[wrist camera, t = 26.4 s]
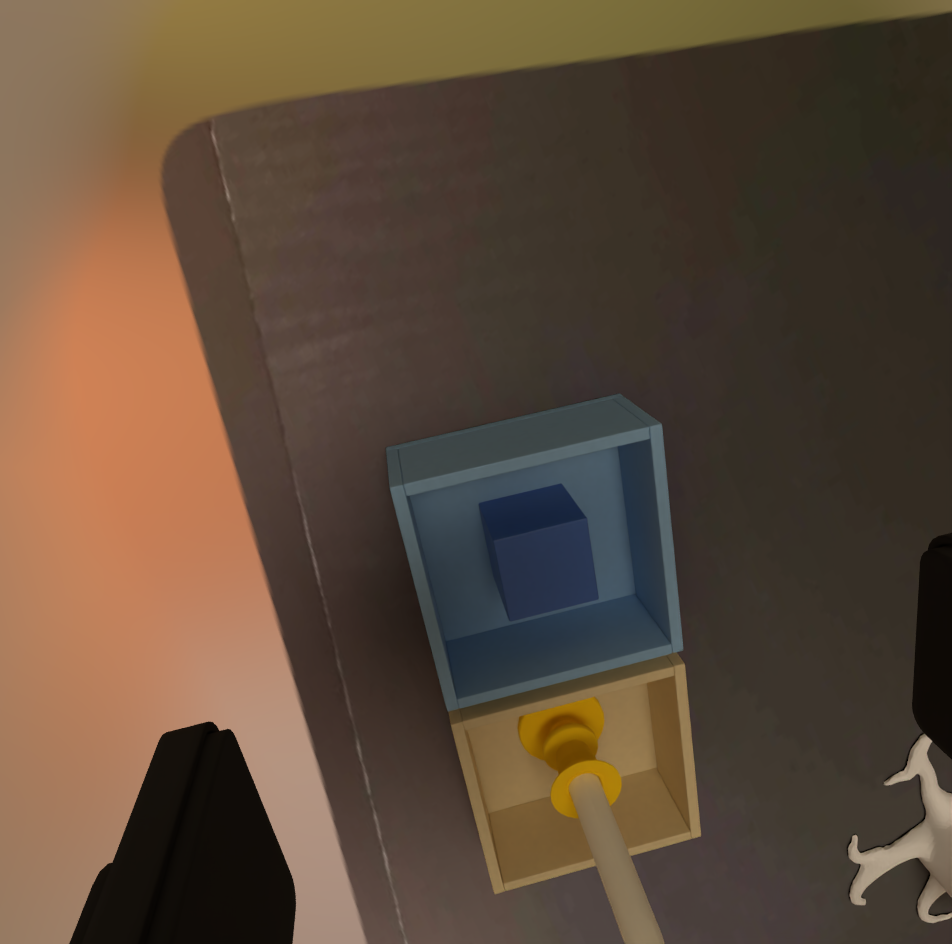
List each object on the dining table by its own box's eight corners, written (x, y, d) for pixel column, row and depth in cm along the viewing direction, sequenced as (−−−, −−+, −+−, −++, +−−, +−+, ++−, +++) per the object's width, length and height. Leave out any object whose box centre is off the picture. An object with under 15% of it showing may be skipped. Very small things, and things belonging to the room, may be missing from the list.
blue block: (493, 577, 38) (509, 622, 34) (477, 502, 36) (492, 540, 32) (573, 557, 38) (599, 599, 34) (561, 482, 37) (587, 517, 32)
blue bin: (436, 647, 40) (447, 712, 34) (385, 447, 35) (389, 487, 30) (643, 595, 40) (684, 650, 35) (619, 392, 36) (662, 423, 31)
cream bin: (479, 816, 44) (494, 894, 39) (439, 658, 40) (450, 725, 35) (663, 765, 45) (701, 836, 40) (644, 606, 41) (685, 663, 36)
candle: (501, 741, 42) (574, 1020, 27) (545, 673, 41) (645, 928, 26) (573, 766, 43) (678, 1043, 29) (618, 701, 42) (750, 957, 28)
